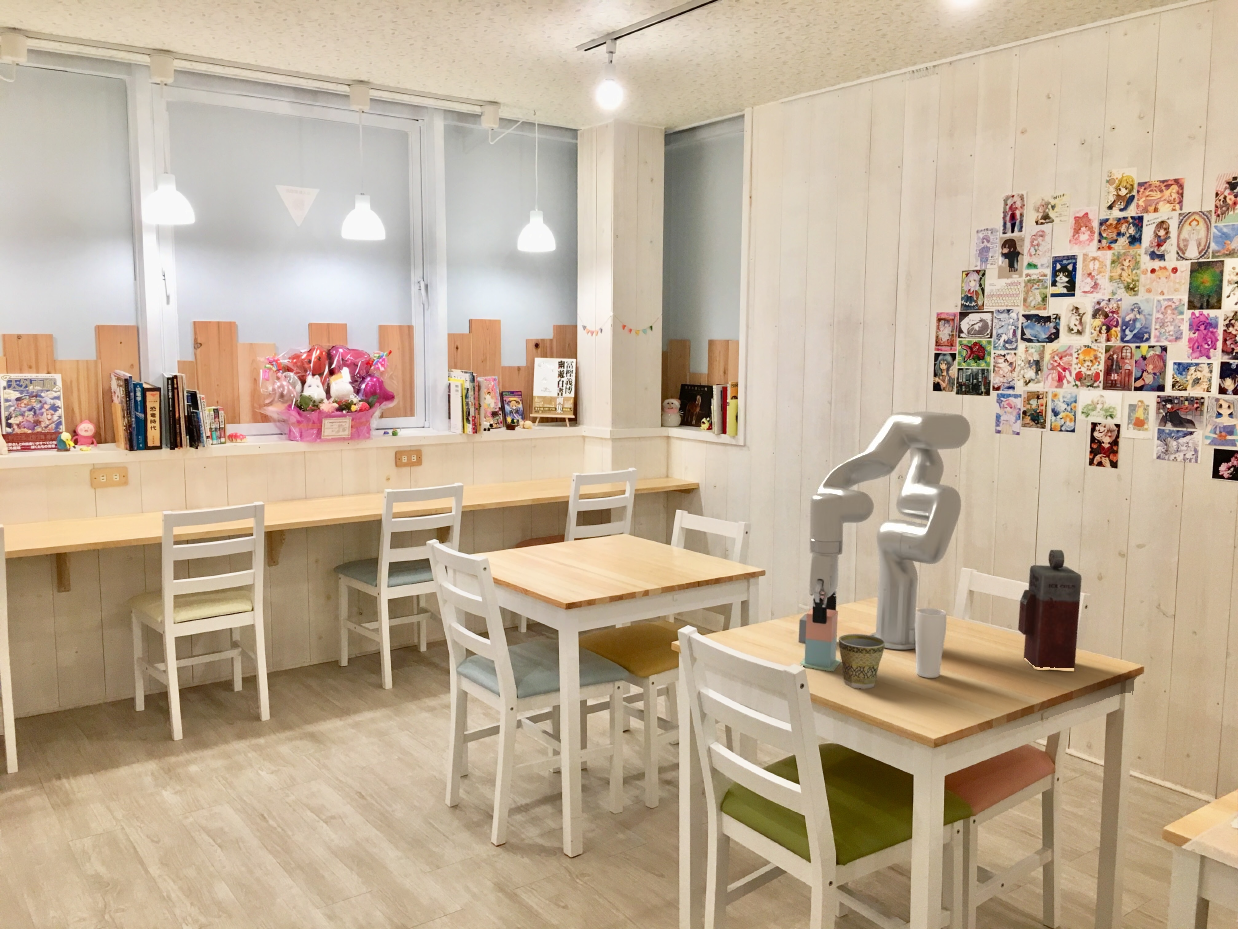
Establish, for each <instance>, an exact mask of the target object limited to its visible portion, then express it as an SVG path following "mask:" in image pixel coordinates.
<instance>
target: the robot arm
mask: <svg viewBox="0 0 1238 929" xmlns="http://www.w3.org/2000/svg"><path fill="white" fill-rule="evenodd" d="M970 436H971V425H970V422H969V421H968V419H967V418H966V417H965V416H963V415H962V414H957V413H946V412H935V411H914V412H907V411H906V412H903V411H900V412H899V411H898V412H895V413H892V414H890V415H889V416H888V417H887V419H886V420H885V421H884V423H883V424H882V425H881V427H879V429H878V430H877V432H876V434H875V435H874V436H873V438H872V439H871V441H869V443H868V445H867V446H866V447H865V449H864V450H863V451H862V452H860V453H859V454H857V455H855V456H853V457H852V458H849V459H847V460H846V461H844V462H843V463H841V464H839V465H838V466H836V467H835V468H833V470H831V471H830V472H829V474H828V475H827V476H826V477H825V479H824V480H823V481H822V483H821V484H820V486H819V488H818V489H817V491H816V493H814V494H813V495H812V496H811V499H810V506H809V508H810V510H809V512H810V515H809V553H810V554H812V555H811V562H810V570H809V585H808V586H809V589H808V593H809V595H810V596H813V600H812V601H813V602H812V608H813V618H812V621H813V623H820V624H826V623H827V609H828V610H836V611H837V589H838V585H839V555H842V554H843V546H844V543H843V542H844V541H843V539H844V536H843V534H844V524H845V523H854V524H855V523H856V524H857V523H863V522H865V521H867V520H868V519H870V517H871V516H872V514H873V513H874V507H875V506H874V501H873V498H872V497H871V496H870V495H869V494H867V492H864V491H861V490H855V489H851V488H853V487H854V486H857V485H858V484H861V483H865V482H869V481H873V480H877V479H881V478H885V477H888V476H890V475H891V474H892V473H893V472H894V471H895V470H896V468H897V467H898V465H899V464H900V463H901V461H902V459H904V457H905V455H906V454H907V453H908V451H909V454H910V455H909V457H910V459H909V465H908V467H907V471H906V473H905V475H904V479H903V482H902V484H901V487H900V489H899V492H898V495H897V498H896V504H895V505H896V510H897V511H898V513H899V514H900V515H902V516H903V517H907V518H909V519H914V520H919V521H925V522H927V523H922V522H921V523H920V522H916V521H912V520H911V521H910V520H905V519H897V518H894V519H888V520H886V521H884V522H883V523H881V524H880V526H879V527H878V529H877V532H876V548H877V554H878V584H877V585H878V586H877V604H876V625H875V632H872V633H871V634H869V635H870V636H874V637H878V638H880V639H882V640H883V641H884V642H885V646H884V649H889V650H900V651H901V650H905V651H906V650H913V649H916V643H915V619H916V610H917V598H918V597H917V596H918V585H919V578H918V577H919V575H918V571H917V567H916V566H915V563H916V562H917V563H921V564H926V565H936V564H938V563H939V562H940V561H942V559H943V558H944V556H945V555H946V554H947V550H948V547H949V546H950V542H951V540H952V536H953V533H954V532H955V529H956V525H957V523H958V520H959V516H960V514H961V510H962V509H961V508H962V499H961V496H960V493H959V492H958V490H957V489H956V488H954V487H952V486H950V485H945V484H941V480H942V477H943V475H944V470H945V468H944V461H943V459H942V457H941V454H940V452H939V450H953V449H960V448H961V447H963V446H964V445H966V443H967V442H968V441H969V439H970Z"/></svg>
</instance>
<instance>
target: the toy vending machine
mask: <svg viewBox="0 0 1238 929" xmlns="http://www.w3.org/2000/svg"><path fill="white" fill-rule="evenodd" d="M1048 564H1049V565H1041V564H1040V565H1036V564H1035V565H1030V569H1029V578H1028V589H1024V591H1023V593H1022V596H1021V598H1020V600H1019V613H1018V614H1019V615H1018V627H1017V630H1018V631H1019V632H1020V633H1021V634H1022V635H1024V647H1023V648H1024V649H1023V659H1024V658H1026V659H1027V660H1028V661H1029V662H1030V663H1031V664H1032V665H1034V666H1035V667H1040V668H1043V667H1050V668H1054V667H1055V668H1075V667H1076V658H1077V657H1076V656H1077V655H1076V654H1077V642H1078V630H1079V629H1078V628H1079V619H1080V618H1079V616H1080V605H1081V593H1082V592H1081V589H1082V575H1081V573H1078V572H1076V571H1074V570H1073V569H1072V568H1069V567H1068V566H1066V565H1064V564H1065V554H1064V551H1063V550H1062V549H1050V551H1049V553H1048ZM1075 669H1076V668H1075Z"/></svg>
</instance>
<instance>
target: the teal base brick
mask: <svg viewBox="0 0 1238 929" xmlns="http://www.w3.org/2000/svg"><path fill="white" fill-rule="evenodd" d="M837 637H838V635H837V636H836V637H835V638H834V639H833V641H832V642H827V641H820V640H812V639H806V641H805V643H804V658H805V664H812V665H818V666H825V667H831V665H832V664H833V663H834V662H835V660H836V659H837V640H838V638H837Z"/></svg>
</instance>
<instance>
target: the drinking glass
mask: <svg viewBox="0 0 1238 929" xmlns="http://www.w3.org/2000/svg"><path fill="white" fill-rule="evenodd" d="M947 615H948V614H947V612H946V611H945V610H943V609H938V608H933V607H921V608H920V607H919V608H916V617H915V643H916V648H915V673H916V675H917V676H919V677H920V678H921V677H922V678H926V679H935V678H939V676H940V675H941V665H942V659H943V653H944V652H943V651H944V646H945V639H946V632H947V618H948V617H947Z"/></svg>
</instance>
